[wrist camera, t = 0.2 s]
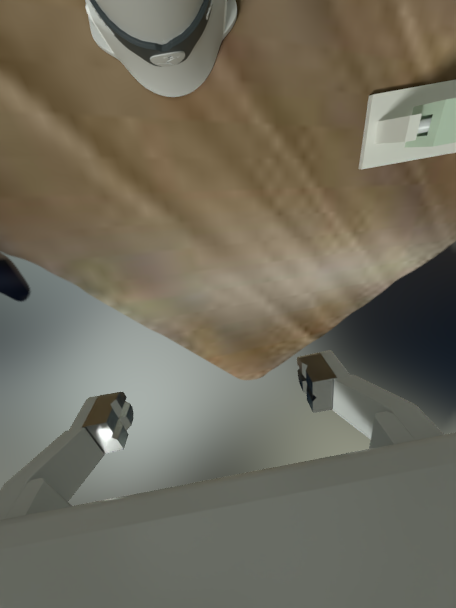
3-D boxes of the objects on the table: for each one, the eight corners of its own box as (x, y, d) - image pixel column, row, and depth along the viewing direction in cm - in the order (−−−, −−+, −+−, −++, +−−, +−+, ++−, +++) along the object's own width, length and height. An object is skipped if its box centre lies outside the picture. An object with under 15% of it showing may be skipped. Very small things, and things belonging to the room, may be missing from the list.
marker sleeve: (413, 106, 34) (445, 99, 30) (447, 100, 34) (484, 92, 30) (404, 147, 37) (432, 146, 32) (435, 141, 37) (468, 140, 32)
